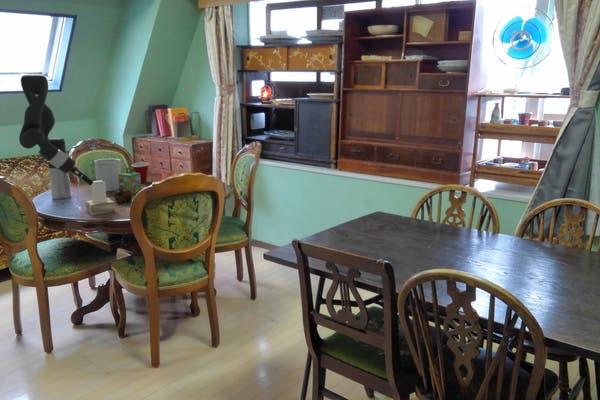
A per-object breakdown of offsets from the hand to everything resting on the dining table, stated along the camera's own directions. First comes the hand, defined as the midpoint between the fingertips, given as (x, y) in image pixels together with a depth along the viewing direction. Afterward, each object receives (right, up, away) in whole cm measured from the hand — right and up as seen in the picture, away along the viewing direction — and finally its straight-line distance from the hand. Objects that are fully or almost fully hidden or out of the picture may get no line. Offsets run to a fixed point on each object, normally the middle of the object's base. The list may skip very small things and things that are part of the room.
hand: (89, 182), depth 245 cm
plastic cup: (+1, +3, +76) cm, 76 cm away
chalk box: (+5, -5, +46) cm, 46 cm away
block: (+3, -14, +6) cm, 16 cm away
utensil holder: (-12, -2, +57) cm, 58 cm away
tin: (+3, -9, +4) cm, 11 cm away
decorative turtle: (+8, -10, +25) cm, 28 cm away
